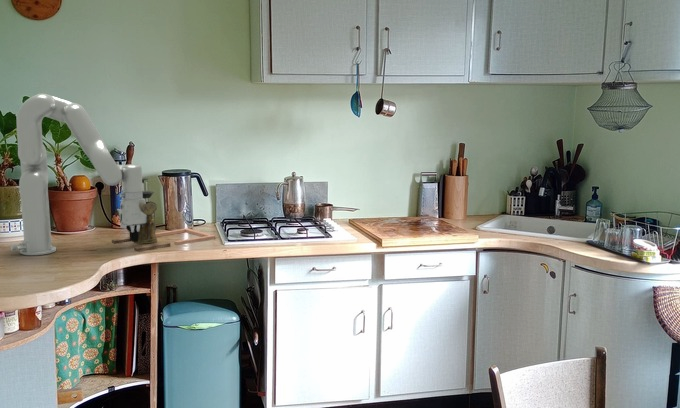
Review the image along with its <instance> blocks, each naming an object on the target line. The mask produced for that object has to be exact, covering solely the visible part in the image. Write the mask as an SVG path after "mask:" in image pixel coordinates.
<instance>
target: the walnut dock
mask: <svg viewBox="0 0 680 408" xmlns="http://www.w3.org/2000/svg"><path fill="white" fill-rule="evenodd" d="M130 242H132V241H131V240H130V236H128V237H121V238H115V239H114V238H113V239H111V243H112V244H114V245H115V244H116V245H117V244H123V243H130ZM169 247H171V243H170V242H167V241H165V242H159V243H158V242H157V243H152V244H144V245H141V246H135V247H133V251H135V252H139V253H140V252H144V251H150V250H157V249H162V248H169Z"/></svg>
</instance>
